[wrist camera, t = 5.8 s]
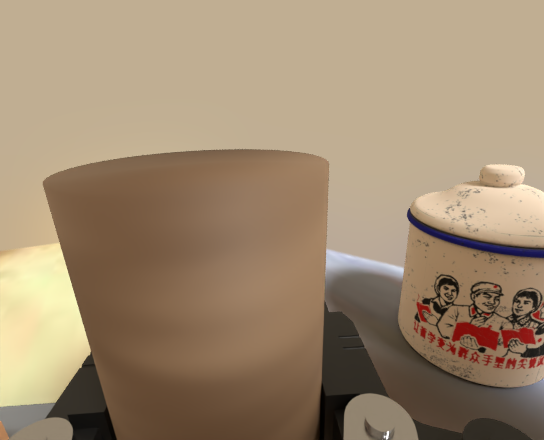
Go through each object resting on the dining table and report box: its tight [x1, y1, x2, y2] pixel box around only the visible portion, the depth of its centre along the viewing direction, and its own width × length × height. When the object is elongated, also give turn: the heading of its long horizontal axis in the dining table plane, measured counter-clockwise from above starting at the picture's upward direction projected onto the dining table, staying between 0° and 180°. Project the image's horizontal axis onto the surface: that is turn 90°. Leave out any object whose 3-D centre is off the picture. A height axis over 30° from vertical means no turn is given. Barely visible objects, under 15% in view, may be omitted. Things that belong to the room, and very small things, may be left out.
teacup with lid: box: [398, 165, 544, 388], centre depth 18 cm, size 12×9×12 cm
